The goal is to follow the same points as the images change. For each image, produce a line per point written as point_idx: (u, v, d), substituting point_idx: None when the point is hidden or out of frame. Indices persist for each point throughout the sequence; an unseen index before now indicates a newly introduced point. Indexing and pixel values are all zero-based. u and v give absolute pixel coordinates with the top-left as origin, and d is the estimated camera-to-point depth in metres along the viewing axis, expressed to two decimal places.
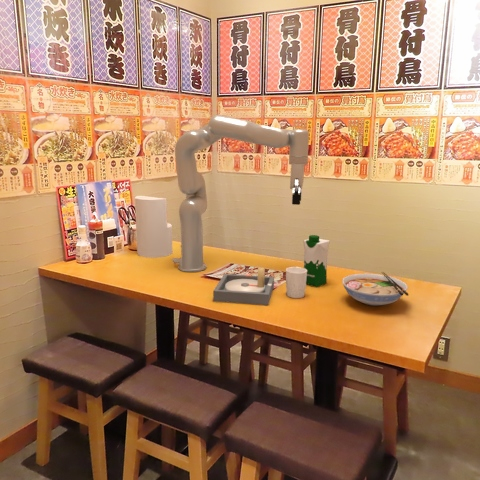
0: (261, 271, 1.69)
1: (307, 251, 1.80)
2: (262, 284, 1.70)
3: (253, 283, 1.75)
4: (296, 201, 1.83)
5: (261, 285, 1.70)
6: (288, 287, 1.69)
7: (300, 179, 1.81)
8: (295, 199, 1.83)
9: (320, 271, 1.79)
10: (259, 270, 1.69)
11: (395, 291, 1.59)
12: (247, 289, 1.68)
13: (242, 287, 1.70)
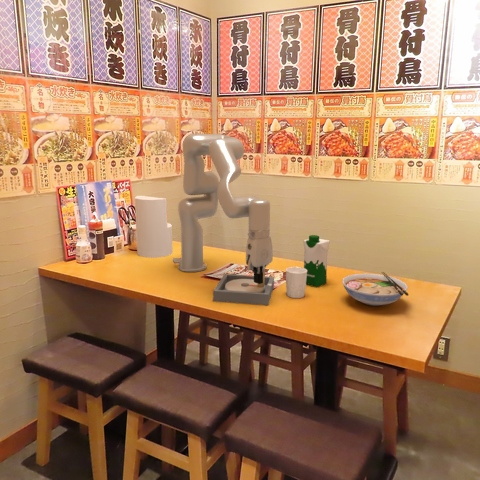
0: None
1: (307, 251, 1.80)
2: (262, 284, 1.70)
3: (253, 283, 1.75)
4: None
5: (261, 285, 1.70)
6: (288, 287, 1.69)
7: None
8: None
9: (320, 271, 1.79)
10: None
11: (395, 291, 1.59)
12: (247, 289, 1.68)
13: (242, 287, 1.70)
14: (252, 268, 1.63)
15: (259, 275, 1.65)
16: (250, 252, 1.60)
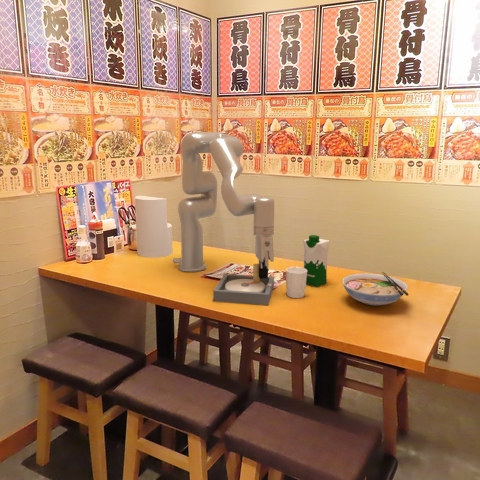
0: None
1: (307, 251, 1.80)
2: (259, 279, 1.76)
3: (245, 281, 1.76)
4: None
5: (259, 280, 1.76)
6: (288, 287, 1.69)
7: None
8: None
9: (320, 271, 1.79)
10: (257, 266, 1.74)
11: (395, 291, 1.59)
12: (255, 287, 1.71)
13: (248, 287, 1.70)
14: None
15: (267, 270, 1.71)
16: (268, 248, 1.65)
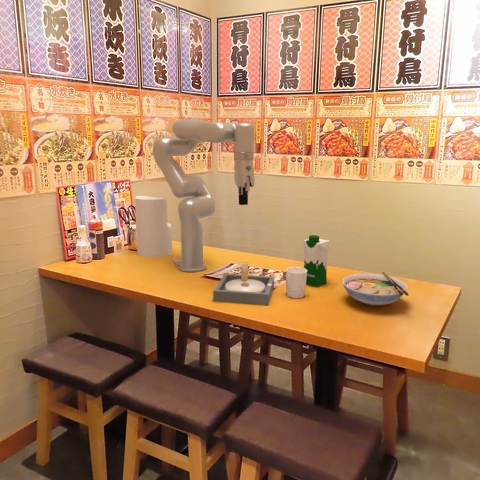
0: None
1: (307, 251, 1.80)
2: None
3: (237, 282, 1.75)
4: None
5: None
6: (288, 287, 1.69)
7: None
8: None
9: (320, 271, 1.79)
10: (247, 264, 1.76)
11: (395, 291, 1.59)
12: (255, 283, 1.74)
13: (252, 285, 1.72)
14: None
15: (246, 196, 1.76)
16: (249, 173, 1.70)
